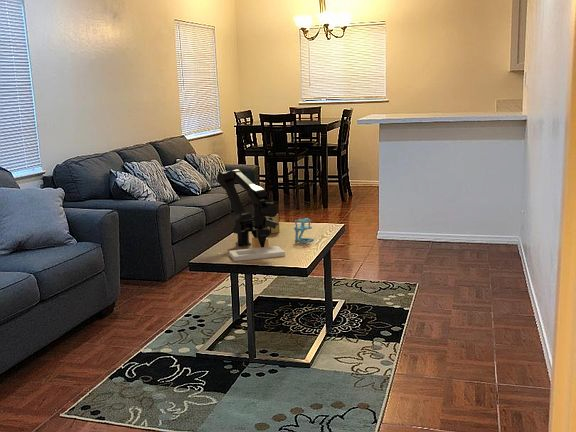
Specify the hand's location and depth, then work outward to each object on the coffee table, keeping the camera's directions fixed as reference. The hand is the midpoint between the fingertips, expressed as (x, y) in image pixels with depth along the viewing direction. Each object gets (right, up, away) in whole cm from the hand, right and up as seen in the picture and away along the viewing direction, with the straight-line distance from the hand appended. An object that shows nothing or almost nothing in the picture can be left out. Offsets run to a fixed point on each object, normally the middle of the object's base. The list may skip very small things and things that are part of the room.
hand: (260, 246), depth 310 cm
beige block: (0, -1, 0) cm, 1 cm away
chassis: (-1, -4, -13) cm, 14 cm away
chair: (+21, +2, +13) cm, 25 cm away
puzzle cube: (+3, +6, +36) cm, 36 cm away
